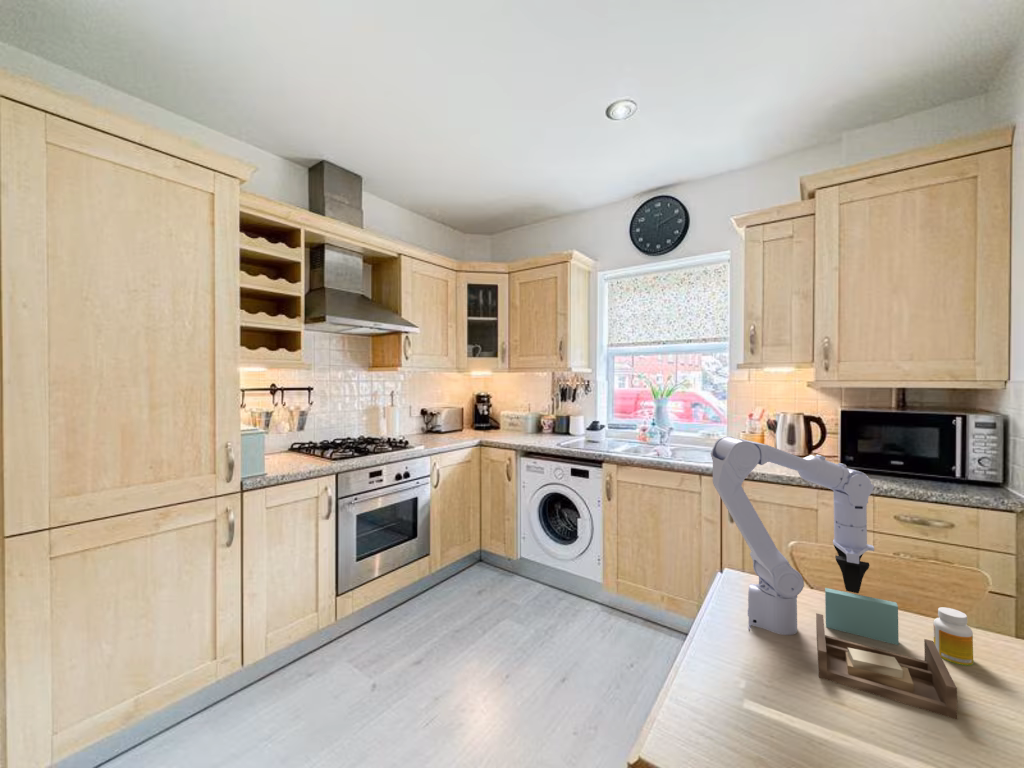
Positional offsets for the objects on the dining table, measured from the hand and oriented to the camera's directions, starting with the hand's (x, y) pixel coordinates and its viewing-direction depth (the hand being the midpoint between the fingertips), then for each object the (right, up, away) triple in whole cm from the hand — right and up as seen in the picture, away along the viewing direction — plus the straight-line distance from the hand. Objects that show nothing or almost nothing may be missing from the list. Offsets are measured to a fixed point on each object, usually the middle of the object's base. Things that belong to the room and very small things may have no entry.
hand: (850, 584), depth 94 cm
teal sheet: (0, -11, -2) cm, 11 cm away
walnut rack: (-7, -10, -15) cm, 19 cm away
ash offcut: (-8, -8, -15) cm, 19 cm away
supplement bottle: (+12, -10, -10) cm, 19 cm away
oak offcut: (-7, -9, -15) cm, 19 cm away
